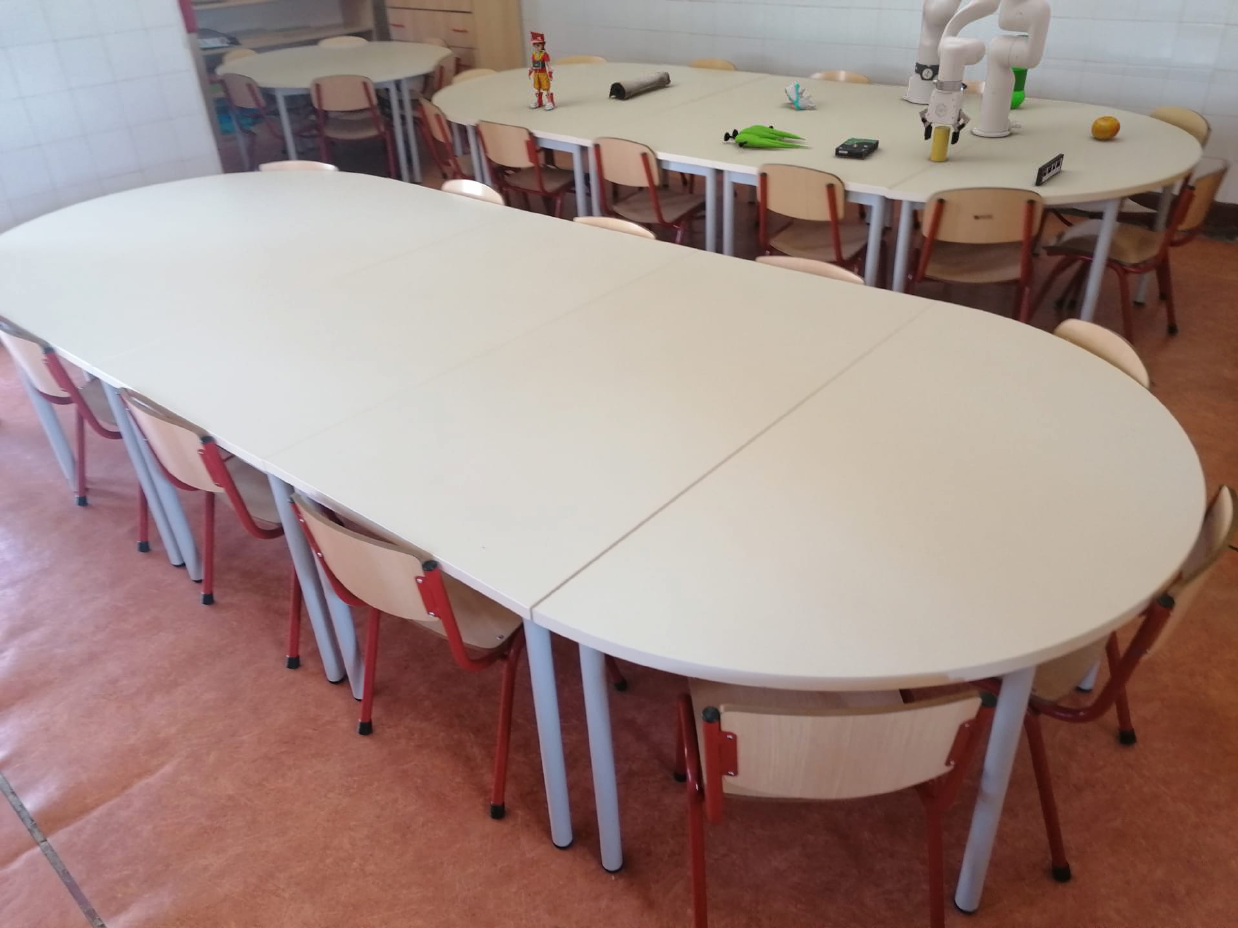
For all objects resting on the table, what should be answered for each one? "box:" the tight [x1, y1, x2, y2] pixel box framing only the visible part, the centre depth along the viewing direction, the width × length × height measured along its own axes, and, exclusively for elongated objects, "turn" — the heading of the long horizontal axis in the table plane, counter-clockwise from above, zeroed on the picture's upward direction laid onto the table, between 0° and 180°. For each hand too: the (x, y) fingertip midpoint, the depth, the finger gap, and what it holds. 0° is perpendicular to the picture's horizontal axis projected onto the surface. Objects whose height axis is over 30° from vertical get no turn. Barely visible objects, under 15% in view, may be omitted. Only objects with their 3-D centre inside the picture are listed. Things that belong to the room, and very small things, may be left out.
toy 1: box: [527, 31, 556, 111], centre depth 374 cm, size 12×9×30 cm
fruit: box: [1090, 115, 1121, 141], centre depth 303 cm, size 8×8×8 cm
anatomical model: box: [784, 80, 816, 111], centre depth 360 cm, size 15×10×10 cm
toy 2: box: [723, 124, 807, 148], centre depth 319 cm, size 28×5×30 cm
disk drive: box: [834, 137, 880, 159], centre depth 305 cm, size 10×3×15 cm
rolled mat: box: [608, 71, 672, 101], centre depth 395 cm, size 30×9×10 cm
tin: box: [929, 125, 952, 162], centre depth 293 cm, size 5×5×10 cm
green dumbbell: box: [1010, 34, 1029, 110], centre depth 337 cm, size 10×10×25 cm
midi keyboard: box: [1035, 153, 1065, 186], centre depth 273 cm, size 18×1×5 cm, turn 138°
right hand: (940, 141), depth 292 cm, fingers open, 8 cm apart
